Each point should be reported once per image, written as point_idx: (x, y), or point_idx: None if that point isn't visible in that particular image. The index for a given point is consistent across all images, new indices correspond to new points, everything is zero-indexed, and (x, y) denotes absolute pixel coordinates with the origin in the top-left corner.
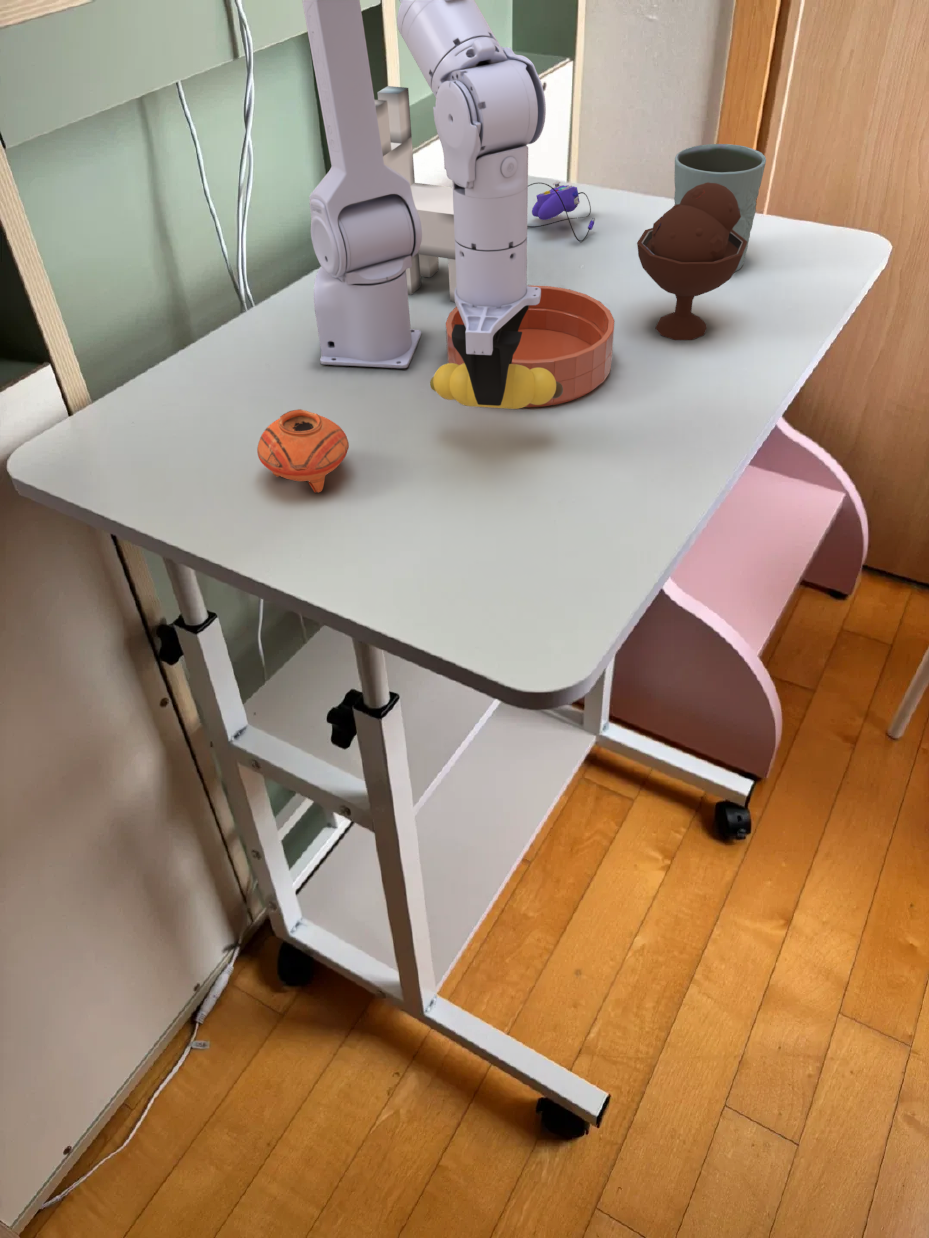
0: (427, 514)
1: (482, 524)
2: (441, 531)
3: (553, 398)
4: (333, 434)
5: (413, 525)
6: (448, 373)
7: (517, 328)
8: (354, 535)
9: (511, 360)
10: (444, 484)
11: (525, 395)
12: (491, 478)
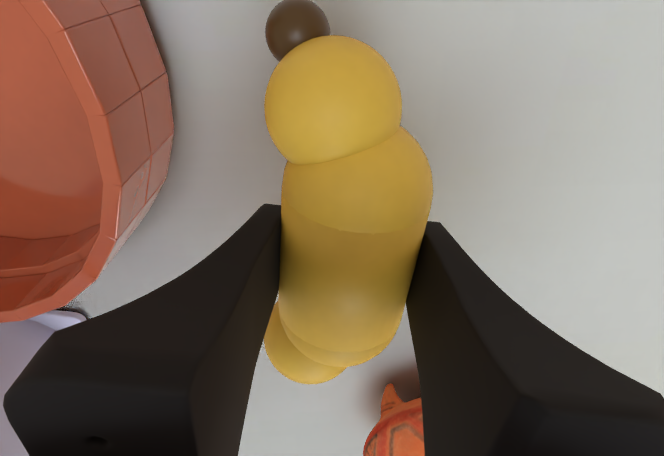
0: (568, 261)
1: (638, 170)
2: (631, 239)
3: (133, 6)
4: None
5: (595, 279)
6: (336, 369)
7: (233, 310)
8: (591, 347)
9: (271, 234)
10: (477, 239)
11: (427, 161)
12: (471, 156)
